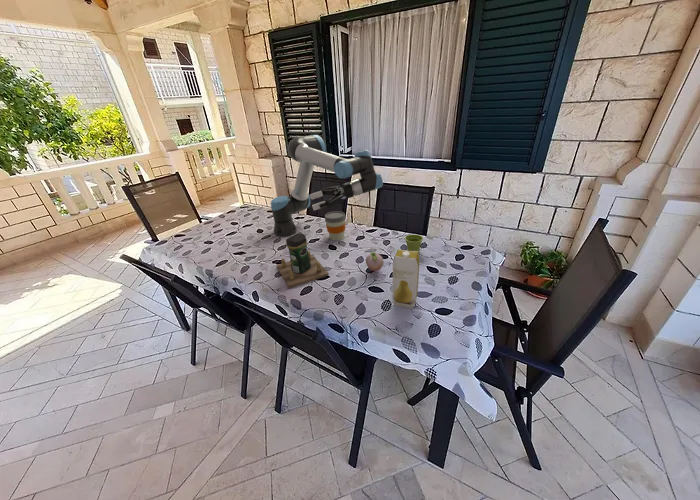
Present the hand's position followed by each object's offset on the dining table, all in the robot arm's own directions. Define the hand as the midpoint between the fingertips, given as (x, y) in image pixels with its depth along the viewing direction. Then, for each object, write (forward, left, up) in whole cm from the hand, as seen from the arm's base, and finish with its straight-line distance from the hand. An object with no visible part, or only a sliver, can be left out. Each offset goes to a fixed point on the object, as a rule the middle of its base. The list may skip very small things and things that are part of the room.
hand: (311, 202), depth 134 cm
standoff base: (+9, -13, -31) cm, 35 cm away
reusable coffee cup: (-17, +19, -31) cm, 41 cm away
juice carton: (+56, +15, -31) cm, 66 cm away
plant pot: (+25, +45, -31) cm, 60 cm away
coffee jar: (+9, -13, -30) cm, 34 cm away
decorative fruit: (+29, +18, -31) cm, 46 cm away
